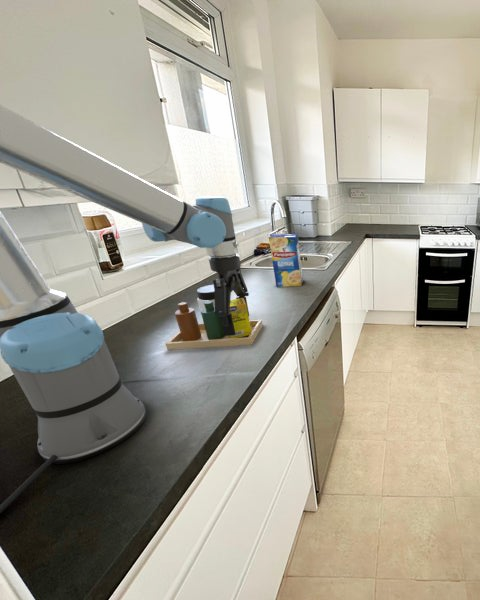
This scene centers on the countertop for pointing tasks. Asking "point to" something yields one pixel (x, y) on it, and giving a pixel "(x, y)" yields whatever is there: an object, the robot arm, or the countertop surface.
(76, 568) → the countertop surface
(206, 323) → the green bottle
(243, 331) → the supplement box
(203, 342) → the tray
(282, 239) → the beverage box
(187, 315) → the amber bottle
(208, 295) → the jar
